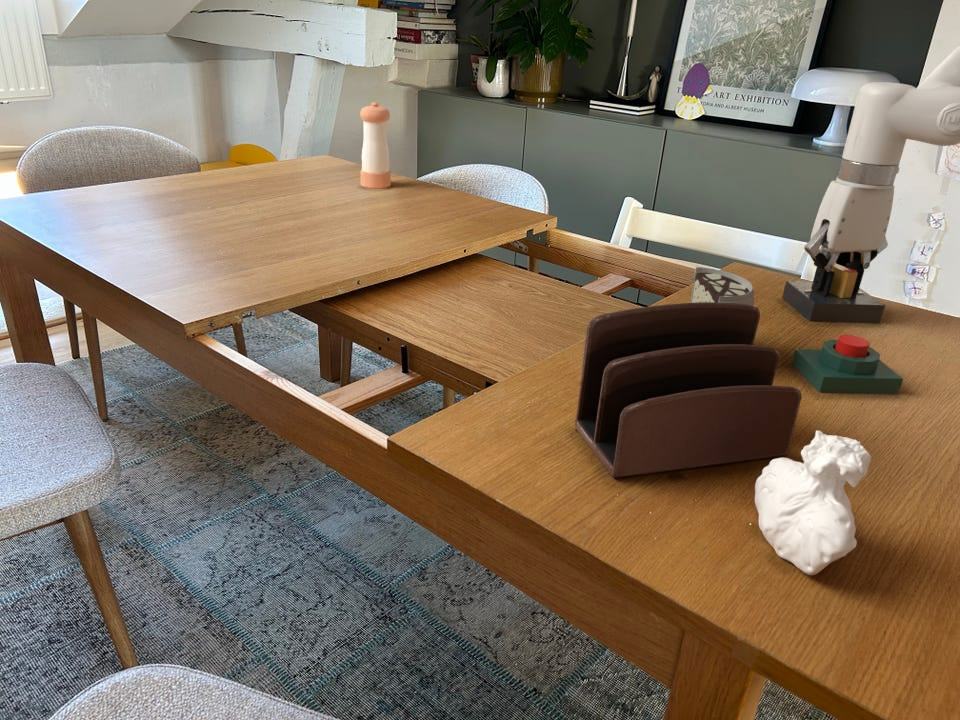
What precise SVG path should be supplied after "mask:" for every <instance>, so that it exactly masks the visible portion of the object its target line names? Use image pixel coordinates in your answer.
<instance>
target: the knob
mask: <svg viewBox="0 0 960 720" xmlns="http://www.w3.org/2000/svg"><path fill="white" fill-rule="evenodd" d="M832 271H834V277H833V281H832V285H831V288H830V293H832V294H834V295H836V296H838V297H840V298H851V295H852V292H853V288H854V285H855V281H856V278H857V274H858V273H857V271H856V270H853V269H848V268H846V267H845V266H843V265H841V264H838V263H837V262H835V264H834V266H833V268H832Z"/></svg>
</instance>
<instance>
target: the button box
mask: <svg viewBox="0 0 960 720" xmlns="http://www.w3.org/2000/svg"><path fill="white" fill-rule="evenodd" d="M837 340H838V339H829V340H826V341H824V342H823V343H822V346H821V349H805V348H804V349H803V348H795V349H794V353H793V356H792V360H791V365H792V366H793V368H795V369H796V370H797V372H798V373H800V375H801V376H802V377H804V379H805V380H806V381H808V383H810V385H811V386H812V387H813V388H814V389H815V390H816V391H817V392H818V393H819V394H823V393H824V394H826V393H827V394H828V393H829V394H864V395H865V394H867V395H868V394H871V395H898V394H899V393H900V389H901V387H902V384H903V381H904V378H903V377H902V376H901V375H900V374H898V373H897V372H895V371H894V370H893V369H892V368H890V367H889V366H888V365H887V364H885V363H884V362H883V361H882V360H880V359H881V355H880V353H879V352H878V351H877V350H875V349H874V348H873V347H871V346H869V349H868V352H867V355H866V357H865V358H856V357H851V356H846V355H843V354H841V353H839V352H837V351H836V350H835V347H836V344H837Z"/></svg>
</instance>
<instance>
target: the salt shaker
mask: <svg viewBox="0 0 960 720" xmlns="http://www.w3.org/2000/svg"><path fill="white" fill-rule="evenodd" d="M359 116H360V119H361V120H362V121H363V140H362V141H363V143H362V149H361V151H362V152H361V169H360V186H361V187H364V188H368V189H385V188H390V187H391V186H392V185H391V184H392V182H391V181H392V177H391V176H392V173H391V172H392V171H391V169H390V152H389V145H388V129H387V127H388V126H387V125H388V124H387V122H388V121H389V120H390V117H391V114H390V111H389V109H388V108H387V107H385V106H382V105H379V103H378V102H376V101H373V102H371V105H366V106H364V107H362V108H361V110H360V112H359Z"/></svg>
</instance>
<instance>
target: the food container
mask: <svg viewBox="0 0 960 720" xmlns="http://www.w3.org/2000/svg"><path fill="white" fill-rule="evenodd" d="M692 281H693V285H692V291H691V298H690V303H695V302H721V303H736V304H746V305H751V306H754V305H755V290H754V289H753V288H754V287H753V285H752V283H751V282H750V281H749V280H748V279H746V278H745V277H743V276H740V275H737V274H735V273H732V272H729V271H725V270H721V269H716V268H710V267H701V266H696V267H695V270H694V273H693V277H692ZM754 307H755V306H754Z"/></svg>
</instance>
